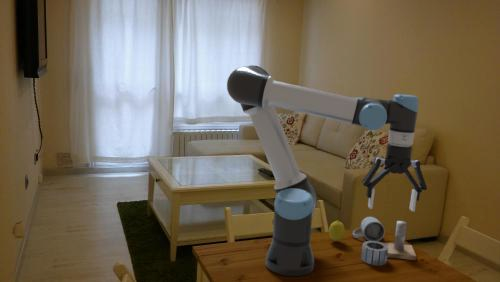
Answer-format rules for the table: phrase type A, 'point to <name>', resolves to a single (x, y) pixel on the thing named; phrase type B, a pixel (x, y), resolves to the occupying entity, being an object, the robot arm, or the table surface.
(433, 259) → the table surface
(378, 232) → the ceramic mug
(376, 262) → the ring
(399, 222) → the shaft stand
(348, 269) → the table surface
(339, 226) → the lemon
